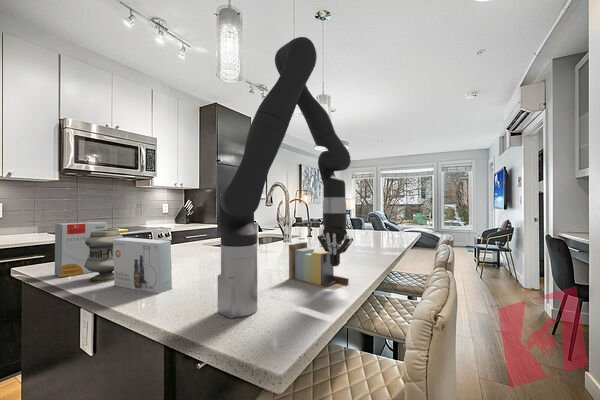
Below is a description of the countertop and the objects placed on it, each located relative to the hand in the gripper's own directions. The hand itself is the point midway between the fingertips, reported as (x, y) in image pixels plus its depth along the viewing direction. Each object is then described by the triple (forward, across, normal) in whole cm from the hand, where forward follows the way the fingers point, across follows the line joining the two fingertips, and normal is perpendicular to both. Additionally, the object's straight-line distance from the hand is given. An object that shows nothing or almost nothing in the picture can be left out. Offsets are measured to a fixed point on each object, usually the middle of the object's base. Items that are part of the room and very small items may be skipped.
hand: (334, 265), depth 91 cm
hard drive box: (+7, +88, +50) cm, 102 cm away
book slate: (+6, +13, 0) cm, 15 cm away
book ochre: (+6, +6, 0) cm, 8 cm away
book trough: (+7, +7, 0) cm, 10 cm away
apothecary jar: (+7, +70, +46) cm, 84 cm away
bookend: (+6, +3, 0) cm, 7 cm away
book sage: (+6, +9, 0) cm, 11 cm away
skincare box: (+8, +48, +41) cm, 64 cm away
